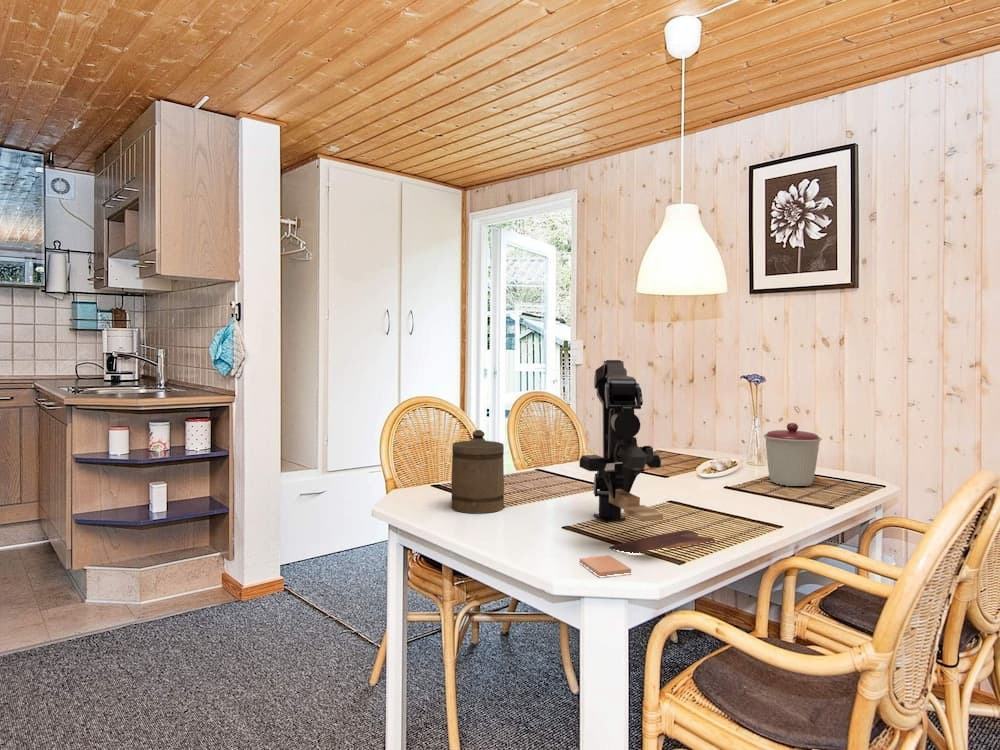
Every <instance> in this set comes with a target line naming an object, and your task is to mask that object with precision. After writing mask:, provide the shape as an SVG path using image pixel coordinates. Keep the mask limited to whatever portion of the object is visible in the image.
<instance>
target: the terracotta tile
mask: <svg viewBox="0 0 1000 750" xmlns="http://www.w3.org/2000/svg"><path fill="white" fill-rule="evenodd" d="M580 563H582V564H583V565H585V566H586V567H588V568H589V569H590V570H592V571H593V572H595V573H596V574H597V575H599V576H607V575H614V574H624V573H631V574H632V568H630V567H629V566H627V565H626V564H624V563H622V562H621V561H620V560H618V559H616V558H614V557H613V556H612V555H602V556H600V555H599V556H591V557H581V558H579V564H580Z"/></svg>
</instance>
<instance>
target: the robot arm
mask: <svg viewBox="0 0 1000 750" xmlns="http://www.w3.org/2000/svg"><path fill="white" fill-rule="evenodd" d="M624 363H625V362H624V361H623V360H620V359H606V360H603V364H602V365H601V366H599V367H598V368H596V369H595V371H594V372H595V373H594V379H593V384H594V385H593V387H594V389H595V390H596V397H597V399H598V400H599V402H600V404H602V412H601V413H602V456H599V455H598V454H584V455H583V454H582V455H581V457H580V459H579V467H580V468H582V469H584V470H586V471H588V472H596V473H594V478H593V480H594V481H593V495H594V497H598V513H594V514H593V516H594V517H596V518H597V519H599V520H601V521H603V522H614V521H615V522H616V521H624V520H625V521H626V519H627V518H626V517H625V516H623V515H622V508H620V507H618V506H616V505H614V504H612V503H610V502H609V492H610V495H611V497H612V498H613V499H615V494H616V489H622V490H624V491H626V492H628V493H631V490H632V488H633V486H634V485H633V484H634V483H635V481H636V479H637V477H638V476H639V475H640V474H641V473H644V472H645V471H646V469H645V467H646V466H648V468H649V469H654V468H662V460H661V457H660V455H658V454H656V453H654V448H653V446H652V445H643V446H638V439H637V437H636V435H637V434H638V433H639V432H640V429H641V422H640V419H639V417H638V416H637V415H636V414H635V410H641V409H642V406H643V405H644V404H643V403H644V400H643V392H642V388H641V387H640V383H639V382H637V380H636V378H634V376H629V375H628V373H627V369H626V368H625V366H624V365H625V364H624Z"/></svg>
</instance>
